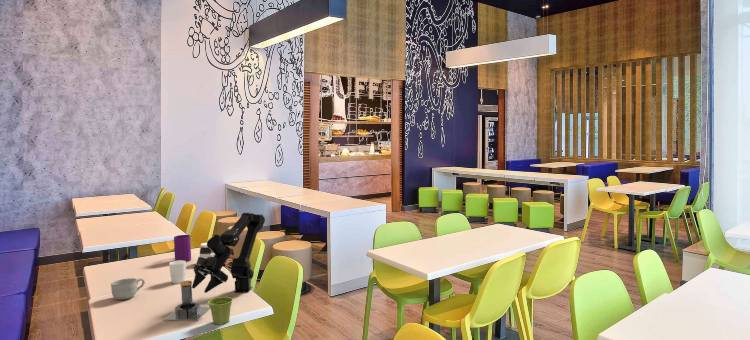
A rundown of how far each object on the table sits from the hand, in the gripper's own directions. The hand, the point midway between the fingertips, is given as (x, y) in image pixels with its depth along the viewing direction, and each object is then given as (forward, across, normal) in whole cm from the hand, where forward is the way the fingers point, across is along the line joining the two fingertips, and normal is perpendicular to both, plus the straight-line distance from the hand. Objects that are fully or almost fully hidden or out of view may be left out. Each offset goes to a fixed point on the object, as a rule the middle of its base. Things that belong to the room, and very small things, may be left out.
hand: (198, 290), depth 201 cm
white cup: (-5, -45, +18) cm, 49 cm away
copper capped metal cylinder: (+10, 0, +2) cm, 10 cm away
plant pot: (+8, +19, +4) cm, 21 cm away
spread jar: (-25, -61, +39) cm, 77 cm away
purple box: (-21, -83, +36) cm, 93 cm away
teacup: (+14, -42, -1) cm, 44 cm away
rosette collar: (+10, 0, +2) cm, 10 cm away
